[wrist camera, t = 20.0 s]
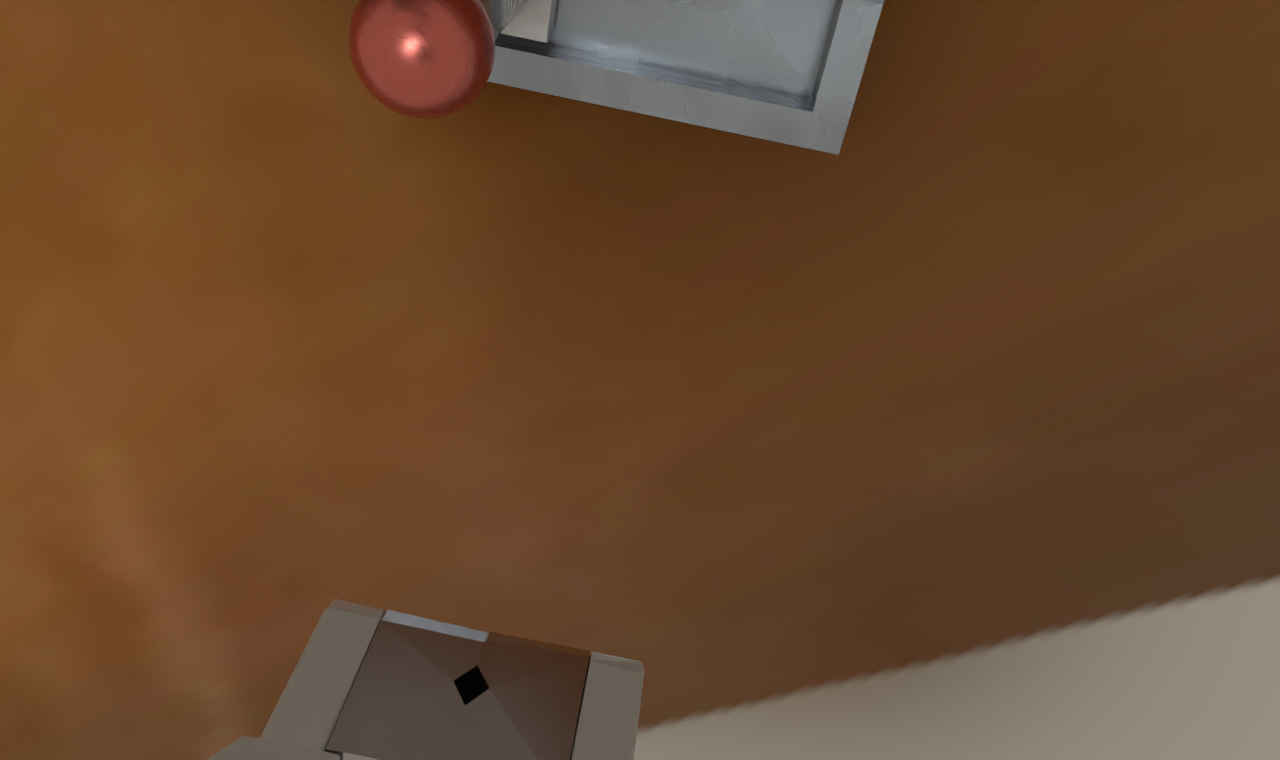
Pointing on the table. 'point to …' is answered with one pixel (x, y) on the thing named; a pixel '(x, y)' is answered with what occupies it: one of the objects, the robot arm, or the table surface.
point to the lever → (437, 48)
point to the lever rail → (706, 62)
